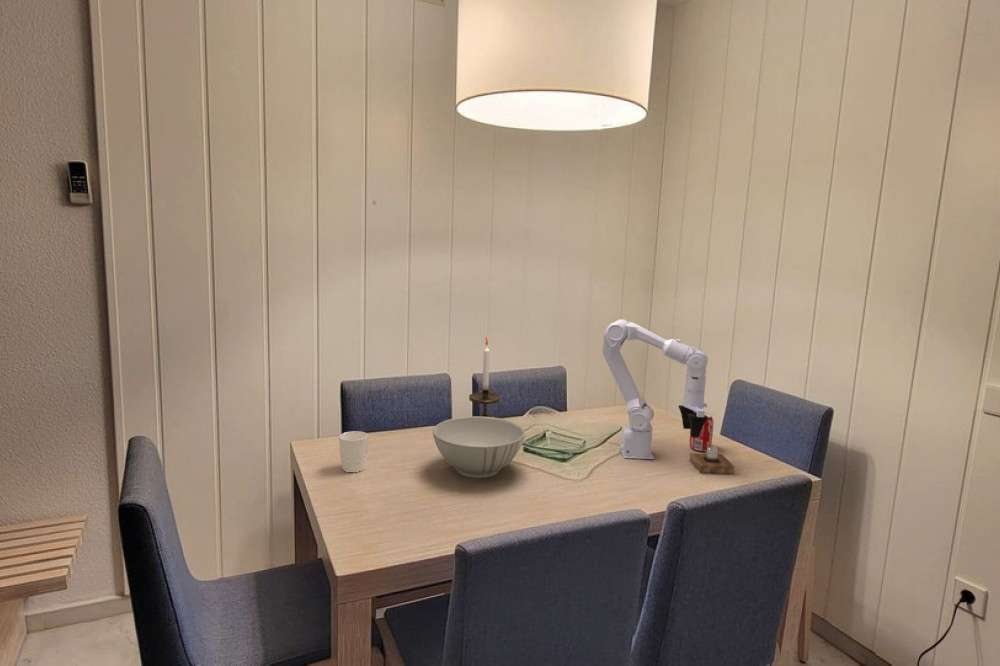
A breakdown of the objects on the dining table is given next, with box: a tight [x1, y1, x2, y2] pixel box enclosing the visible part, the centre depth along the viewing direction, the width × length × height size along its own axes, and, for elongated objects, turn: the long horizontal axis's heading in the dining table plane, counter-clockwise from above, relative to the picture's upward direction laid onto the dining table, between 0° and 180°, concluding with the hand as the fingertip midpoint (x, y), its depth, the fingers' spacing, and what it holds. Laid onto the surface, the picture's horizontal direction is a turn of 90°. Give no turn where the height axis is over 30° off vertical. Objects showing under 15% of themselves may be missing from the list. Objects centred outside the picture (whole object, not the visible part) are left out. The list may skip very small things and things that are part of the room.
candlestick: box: [468, 335, 502, 417], centre depth 197 cm, size 11×11×35 cm
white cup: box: [339, 430, 368, 473], centre depth 169 cm, size 8×8×10 cm
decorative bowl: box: [432, 415, 526, 479], centre depth 171 cm, size 27×27×12 cm
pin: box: [706, 445, 718, 463], centre depth 179 cm, size 3×3×6 cm
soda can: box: [688, 411, 715, 452], centre depth 194 cm, size 7×7×12 cm
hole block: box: [688, 452, 735, 475], centre depth 179 cm, size 10×10×2 cm
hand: (690, 432), depth 180 cm, fingers open, 7 cm apart
